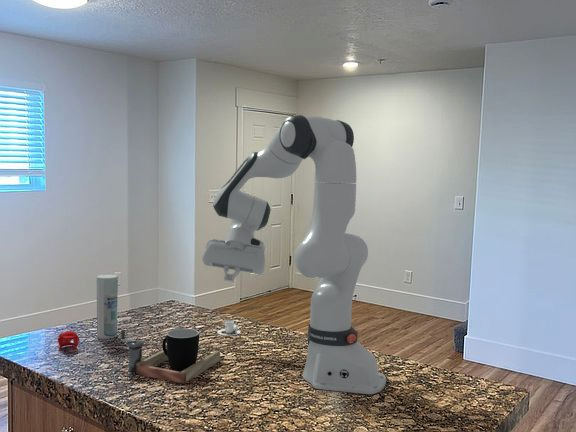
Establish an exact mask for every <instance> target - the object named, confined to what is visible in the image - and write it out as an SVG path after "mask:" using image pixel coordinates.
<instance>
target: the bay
mask: <svg viewBox="0 0 576 432" xmlns="http://www.w3.org/2000/svg"><path fill="white" fill-rule="evenodd" d="M166 360H167V361H168V357H167V356H166V355H165V353H164V351H163V349H161V350H159V351H158V352H156V353H155V354H153V355H149V357H146V358H145V359H142V361H140V362H138V363H136V372H135V373H136V375H140V376H143V377H148V378H154V379H159V380H165V381H169V382H173V383H178V384H179V383H180V384H183V385H184V384H186V383H187V382H189V381H191V380H192V379H194V378H195V377H197V376H199V375H200V374H202V373H203V372H205V371H206V369H207V370H208V369H210V368H212V367H213V366H214V365H217V364H218V363H220V361H221V350H215V351H214V352H212V353H211V354H209V355H207V356H205V357H203V358H201V359H200V360H198V361H196V363H195V364H193V365H192V366H190V367H188V368H186V369H185V370H183V371H181V372H178V371H173V370H171V369H167V368H163V367H157V366H159V365H161V364H163V363H165V362H166ZM164 361H165V362H164ZM162 362H163V363H162ZM160 363H161V364H160ZM158 364H159V365H158ZM156 365H157V366H156ZM209 367H210V368H209ZM198 374H199V375H198Z"/></svg>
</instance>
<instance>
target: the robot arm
mask: <svg viewBox="0 0 576 432" xmlns="http://www.w3.org/2000/svg"><path fill="white" fill-rule="evenodd" d="M354 135H355V134H354V130H353V129H352V127H351V125H350V124H348V123H347V122H344V121H342V120H339V119H333V118H332V119H331V118H327V117H322V116H320V115H319V116H317V115H301V114H298V115H297V114H296V115H292V116H289V117H286V118H285V120H284V121H283V122H282V123H281V125H280V126H279V127H278V129H277V130H276V132H275V133H274V135H273V136H272V138H271V139H270V142H269V144H268V145H267V146H266V147H264V148H263V149H261V150H260V151H257V152H252V153H250V155H249V156H248V157H246V158H245V160H244V161H243V162H242V163H241V164H240V166H239V167H238V168H237V169H236V171H235V172H234V173H233V174H232V176H231V177H230V178H229V179H228V181H227V182H226V183H225V184H224V185H223V186H222V187H221V188H220V189H219V190H218V192H217V193H216V194H215V197H214V198H213V203H212V204H213V205H212V206H213V207H212V208H213V209H214V211H215V213H216V214H217V215H218V216H219V217H222V218H226V219H229V220H231V221H230V228H229V229H228V231H227V234H226V238H225V240H221V239H219V240H218V239H215V238H213V239H211V240H208V241H207V242H206V245H205V251H204V252H203V255H202V262H203V264H204V265H205V266H207V267H209V266H210V267H214V268H221V269H223V271H224V274H225V275H224V281H227V282H232V283H234V282H235V278H236V277H237V276H238V275H239V274H240V272H245V273H246V272H247V273H250V274H257V275H262V274H263V273H265V272H264V271H265V267H266V266H265V265H266V257H265V252H266V251H265V243H264V242H263V241H262V240H259V239H257V238H255V236H254V235H255V232H256V231H260V230H261V229H264V228H265V227H266V226H267V225H268V223H269V219H270V215H271V210H272V209H271V207H270V204H269V202H268V201H267V200H265V199H263V198H260V197H258V196H255V195H253V194H252V195H251V194H250V193H248V192H244V191H242V190H241V189H242V188H243V187H244V185H245V184H246V183H247V182H248V181H249V180H251V179H253V178H270V179H284V178H287V177H289V176H292V175H293V174H294V173H295V172H296V171H297V170H298V168H299V167H300V165H301V163H302V162H303V160H306V159H307V158H308V157H309V158H310V159H311V160H312V161H313V162H314V163H313V164H314V165H315V166H314V167H315V172H314V189H313V205H312V206H313V207H312V214H311V219H310V222H309V226H308V228H307V231H306V233H305V236H304V238H303V239H302V240H301V241H300V243H299V245H297V247H296V249H295V251H294V257H293V258H294V259H293V260H294V264H295V267H296V269H297V271H298V273H300V274H301V275H302V276H304V277H306V278H309V279H318V280H319V282H318V283H317V286H316V288H315V289H314V291H313V292H312V295H311V297H310V309H309V310H310V313H309V324H308V327H307V328H308V329H307V346H308V347H307V348H308V349H307V355H306V360H305V365H304V369H303V371H302V374H301V375H302V379H304V380H305V381H306V382H308V383H309V384H311V385H312V387H313V388H314V389H316V390H323V391H334V392H343V393H353V394H365V395H374V394H377V393H379V392H381V391H382V390H383V389H384V388H385V387H386V384H387V377H386V376H385V373H382V372H380V371H379V367H378V363H377V359H376V357H375V355H374V354H373V353H371V352H370V351H369V350H368V349H367V348H366V347H364V346H363V345H362V344H361V343H360V342H359V341H358V338H359V329H355V328H354V327H353V326H352V310H353V309H352V307H353V297H354V293H355V289H356V285H357V282H358V279H359V275H360V272H361V271H362V268H363V266H364V265H365V263H366V262H367V261H368V257H369V248H368V246H367V243H366V241H365V240H364V239H363V238H362V237H360V236H358V235H355V234H352V233H347V232H346V231H347V228H348V226H349V223H350V221H351V219H352V218H353V217H354V216H355V213H356V203H357V201H356V199H357V197H356V196H357V163H356V157H355V156H356V155H355V151H354V148H353V147H354V146H353V145H354V141H355V140H354V139H355V136H354ZM229 270H234V272H232V274H231V273H228V272H229Z"/></svg>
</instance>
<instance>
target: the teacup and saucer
mask: <svg viewBox="0 0 576 432" xmlns="http://www.w3.org/2000/svg"><path fill="white" fill-rule="evenodd" d="M222 332H225V333H222ZM233 332H236V333H233ZM239 334H241V330H239V329H238V325H237V324H235V321H234V320H226V321H224V328H222V329H219V330H217V335H221V336H225V337H226V336H227V337H228V336H230V337H231V336H237V335H239Z"/></svg>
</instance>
